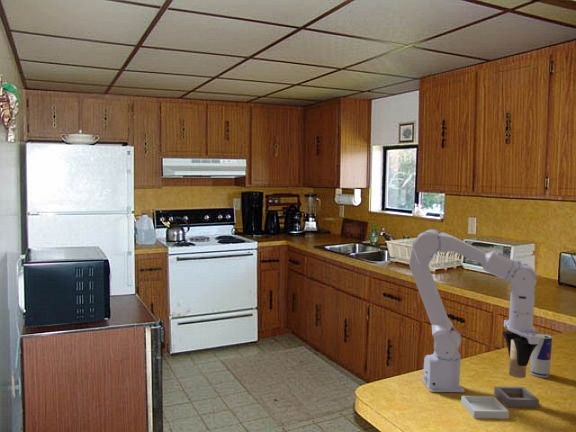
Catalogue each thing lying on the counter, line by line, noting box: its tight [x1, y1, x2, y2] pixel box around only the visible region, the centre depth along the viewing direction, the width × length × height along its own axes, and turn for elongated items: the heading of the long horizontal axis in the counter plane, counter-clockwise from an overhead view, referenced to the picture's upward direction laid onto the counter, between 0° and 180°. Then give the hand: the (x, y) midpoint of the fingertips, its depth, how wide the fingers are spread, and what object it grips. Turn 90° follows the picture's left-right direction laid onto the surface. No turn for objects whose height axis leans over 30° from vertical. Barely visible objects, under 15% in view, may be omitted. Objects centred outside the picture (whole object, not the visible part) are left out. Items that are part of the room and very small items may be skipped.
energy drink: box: [529, 332, 553, 379], centre depth 150 cm, size 5×5×12 cm
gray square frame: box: [493, 386, 540, 409], centre depth 132 cm, size 8×8×2 cm
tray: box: [460, 395, 510, 420], centre depth 126 cm, size 8×8×2 cm
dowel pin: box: [508, 339, 527, 379], centre depth 132 cm, size 4×4×9 cm
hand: (518, 362), depth 132 cm, fingers closed on dowel pin, 4 cm apart
